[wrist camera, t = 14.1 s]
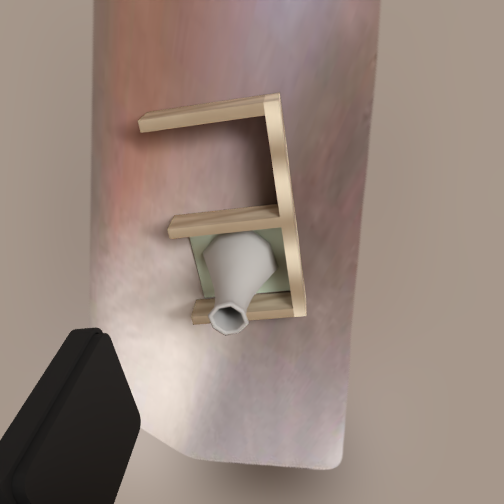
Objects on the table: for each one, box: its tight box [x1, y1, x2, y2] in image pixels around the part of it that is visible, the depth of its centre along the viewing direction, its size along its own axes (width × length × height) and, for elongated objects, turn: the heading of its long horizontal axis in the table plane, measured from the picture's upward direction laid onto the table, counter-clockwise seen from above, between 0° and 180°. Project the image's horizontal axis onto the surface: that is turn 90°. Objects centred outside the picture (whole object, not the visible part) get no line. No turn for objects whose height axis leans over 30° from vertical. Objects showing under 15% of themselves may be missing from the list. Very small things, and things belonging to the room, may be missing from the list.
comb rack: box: [138, 93, 306, 325], centre depth 45 cm, size 21×12×3 cm, turn 9°
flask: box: [203, 230, 278, 336], centre depth 44 cm, size 7×7×10 cm
